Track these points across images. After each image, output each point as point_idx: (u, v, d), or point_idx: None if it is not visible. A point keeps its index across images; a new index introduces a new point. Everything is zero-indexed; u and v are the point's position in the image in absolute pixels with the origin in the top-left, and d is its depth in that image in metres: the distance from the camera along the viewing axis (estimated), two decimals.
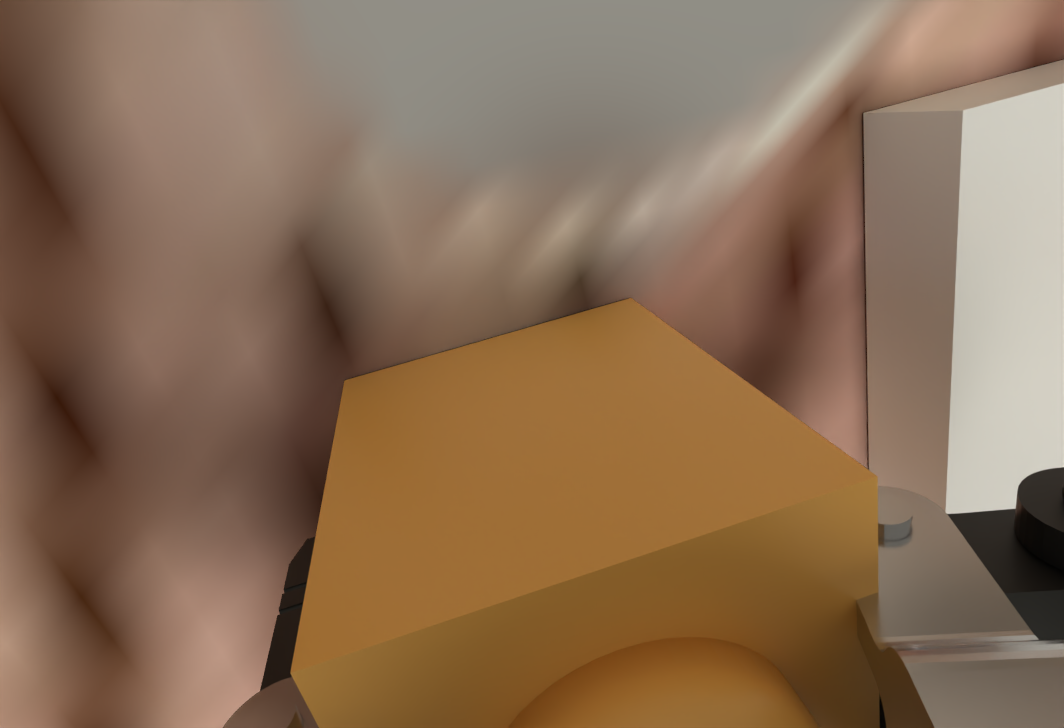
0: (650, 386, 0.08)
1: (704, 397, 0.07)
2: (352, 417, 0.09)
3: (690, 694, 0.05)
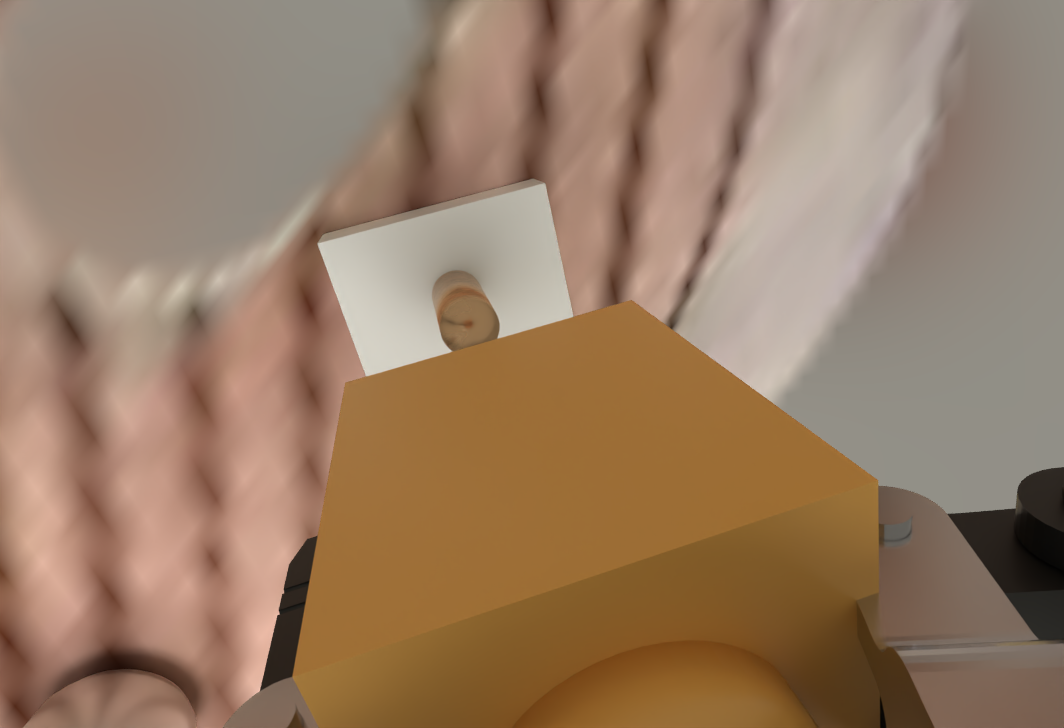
0: (651, 389, 0.08)
1: (705, 400, 0.07)
2: (353, 420, 0.09)
3: (691, 698, 0.05)
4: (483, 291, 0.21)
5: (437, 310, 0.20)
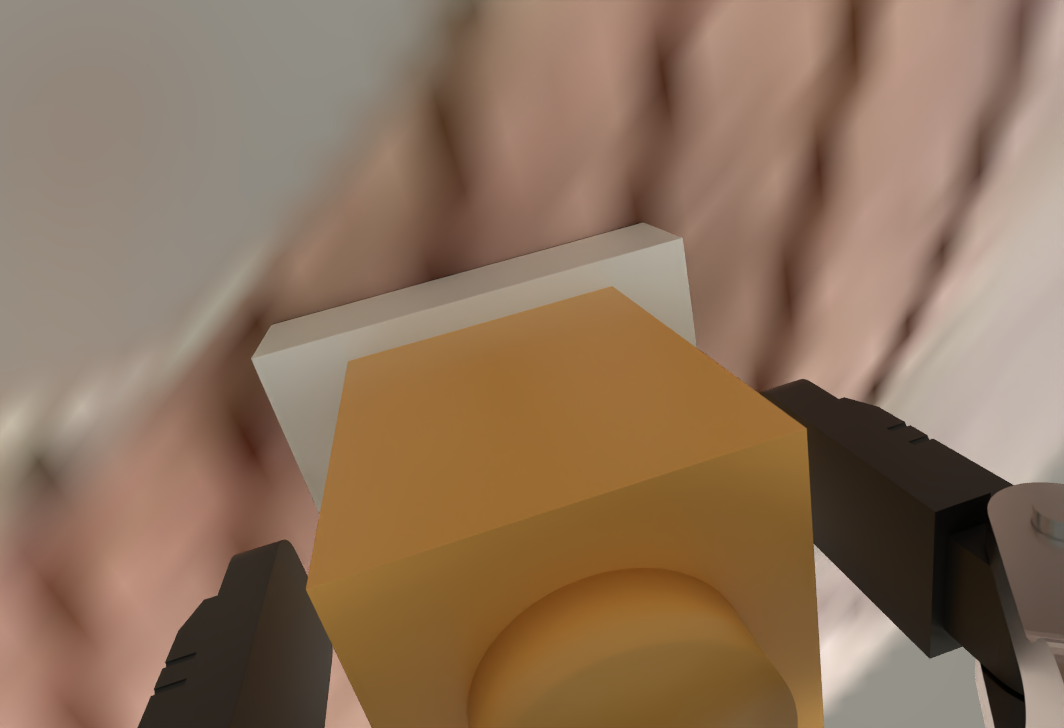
0: (622, 361, 0.09)
1: (669, 369, 0.08)
2: (355, 392, 0.10)
3: (643, 609, 0.06)
4: None
5: None
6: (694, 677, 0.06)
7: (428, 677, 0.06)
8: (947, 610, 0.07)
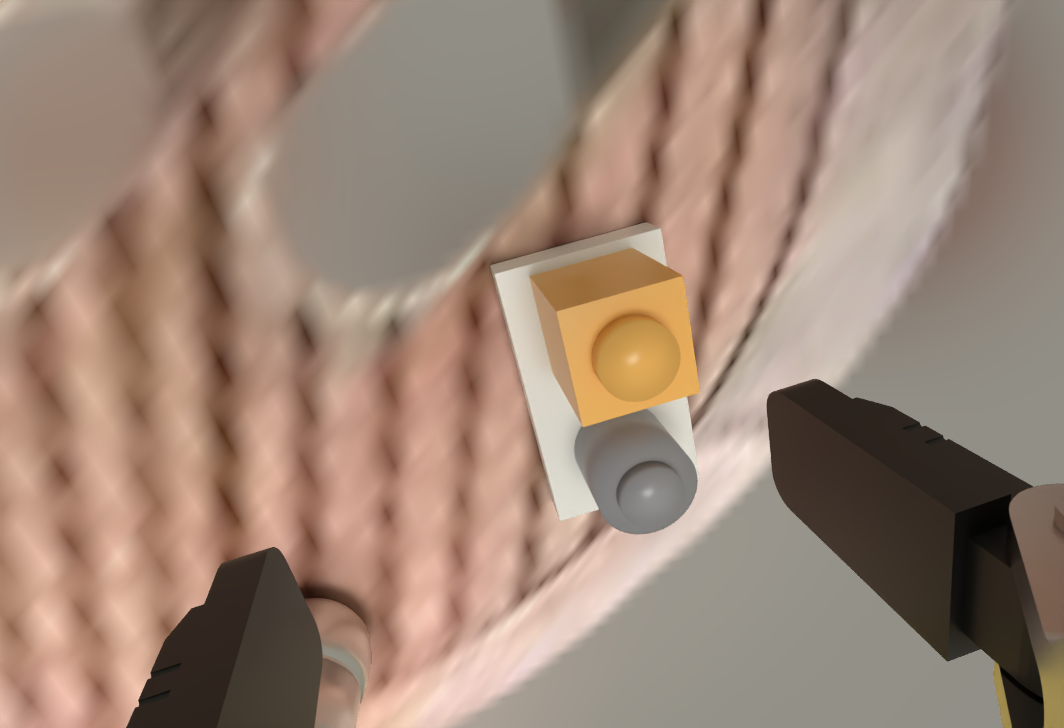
0: (635, 267, 0.26)
1: (650, 268, 0.26)
2: (540, 282, 0.27)
3: (639, 318, 0.23)
4: None
5: None
6: (651, 333, 0.23)
7: (582, 342, 0.24)
8: (966, 613, 0.07)
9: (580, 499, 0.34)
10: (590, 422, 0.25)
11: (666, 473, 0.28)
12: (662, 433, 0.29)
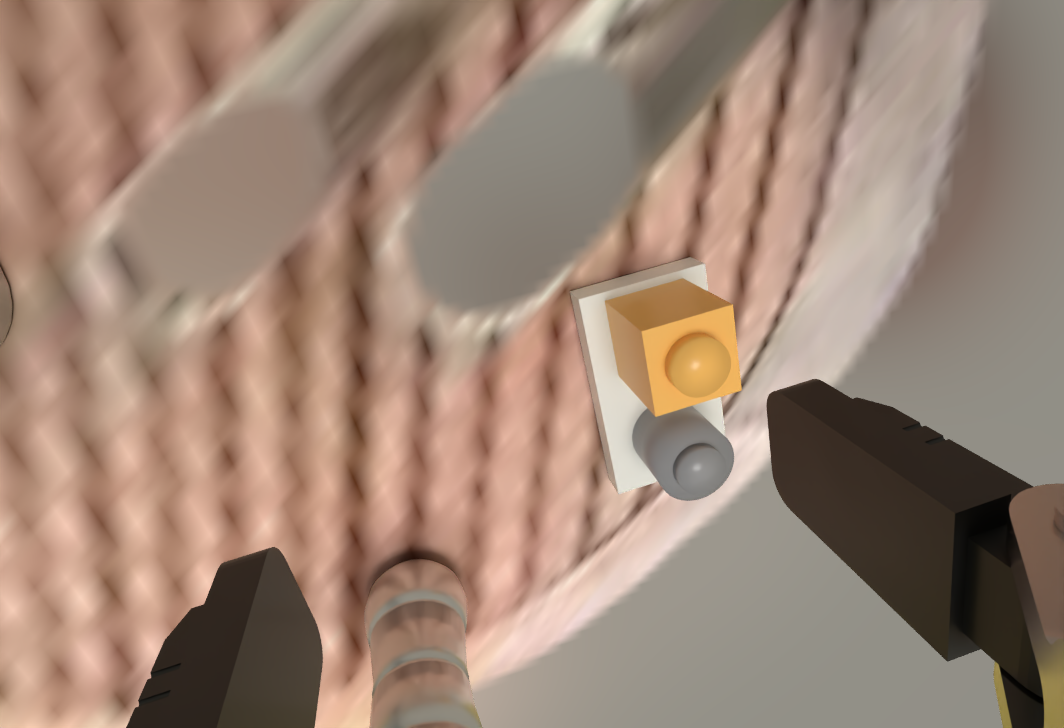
0: (692, 296, 0.35)
1: (704, 297, 0.34)
2: (616, 307, 0.36)
3: (701, 336, 0.32)
4: None
5: None
6: (711, 347, 0.32)
7: (658, 353, 0.32)
8: (966, 613, 0.07)
9: (635, 476, 0.42)
10: (661, 413, 0.34)
11: (712, 452, 0.36)
12: (706, 422, 0.38)
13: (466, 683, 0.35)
